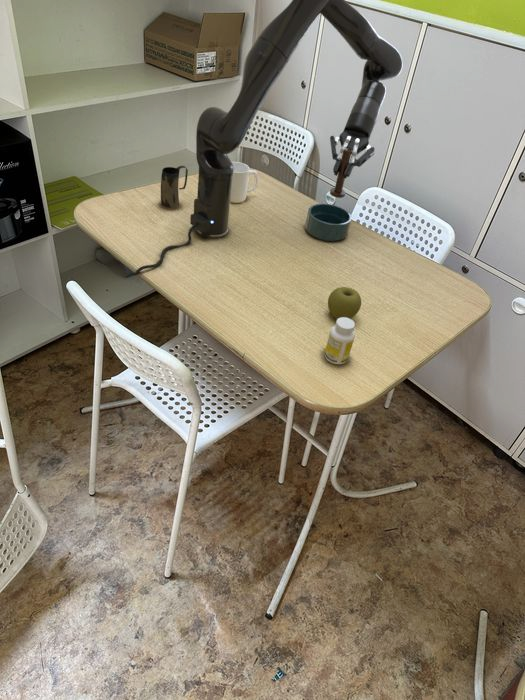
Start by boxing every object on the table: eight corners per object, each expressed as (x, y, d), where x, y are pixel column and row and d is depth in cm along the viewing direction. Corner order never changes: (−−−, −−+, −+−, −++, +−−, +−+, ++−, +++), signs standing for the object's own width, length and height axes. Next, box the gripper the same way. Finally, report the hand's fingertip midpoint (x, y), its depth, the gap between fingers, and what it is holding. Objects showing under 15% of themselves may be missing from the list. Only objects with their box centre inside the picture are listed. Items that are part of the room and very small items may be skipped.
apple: (351, 329, 125) (358, 306, 120) (320, 317, 127) (326, 294, 122) (360, 313, 130) (367, 290, 126) (330, 302, 132) (336, 279, 127)
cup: (217, 192, 171) (219, 161, 164) (251, 190, 175) (254, 161, 168) (225, 203, 165) (228, 173, 159) (260, 201, 170) (264, 171, 163)
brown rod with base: (338, 199, 148) (349, 154, 140) (326, 192, 150) (336, 148, 142) (347, 195, 151) (359, 151, 142) (336, 189, 153) (346, 145, 144)
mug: (163, 210, 157) (164, 172, 149) (158, 202, 160) (158, 164, 152) (188, 208, 160) (190, 170, 152) (182, 199, 163) (183, 162, 156)
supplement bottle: (345, 349, 119) (356, 316, 113) (349, 366, 115) (360, 332, 108) (322, 347, 118) (331, 314, 112) (325, 364, 114) (335, 329, 108)
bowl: (328, 247, 153) (332, 229, 149) (295, 228, 160) (299, 210, 156) (355, 235, 161) (360, 217, 157) (323, 217, 167) (327, 200, 163)
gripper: (338, 105, 144) (315, 162, 143) (386, 118, 141) (364, 176, 140) (339, 120, 151) (318, 174, 150) (385, 132, 148) (363, 188, 147)
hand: (340, 175), depth 145 cm, fingers closed on brown rod with base, 2 cm apart
